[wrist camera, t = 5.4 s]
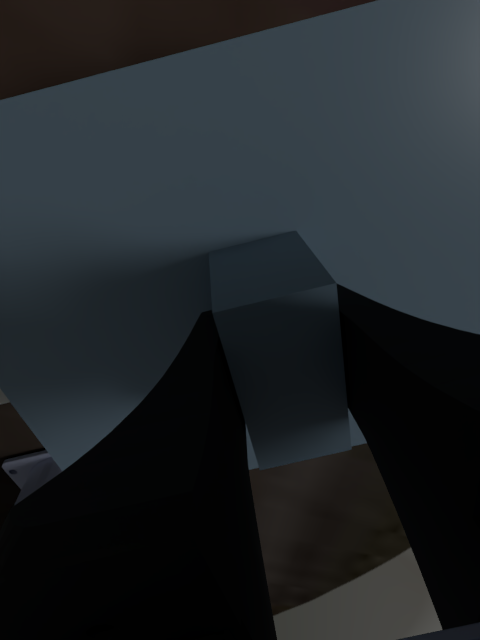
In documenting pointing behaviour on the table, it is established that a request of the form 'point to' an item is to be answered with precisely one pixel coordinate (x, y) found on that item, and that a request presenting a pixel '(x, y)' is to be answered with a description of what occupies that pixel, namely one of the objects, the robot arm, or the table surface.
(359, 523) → the table surface
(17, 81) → the table surface
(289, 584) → the table surface
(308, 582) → the table surface
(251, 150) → the snap lid
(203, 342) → the robot arm
